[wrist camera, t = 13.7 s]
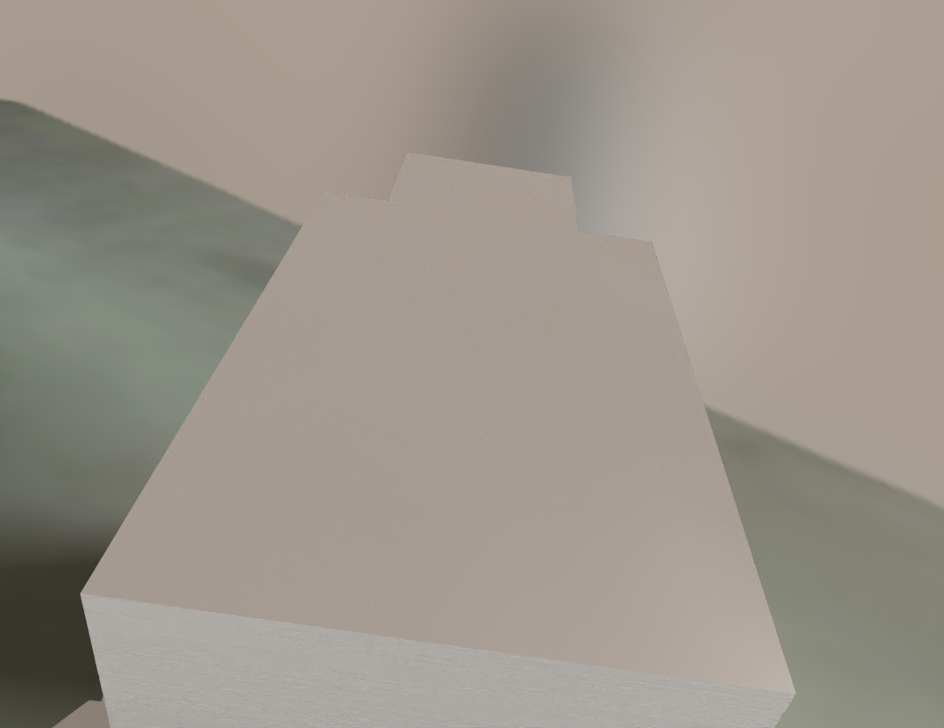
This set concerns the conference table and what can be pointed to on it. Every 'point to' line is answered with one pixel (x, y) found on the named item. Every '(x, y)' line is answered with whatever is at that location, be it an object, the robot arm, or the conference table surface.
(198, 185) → the conference table surface
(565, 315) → the aluminium billet
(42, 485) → the conference table surface
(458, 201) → the billet
